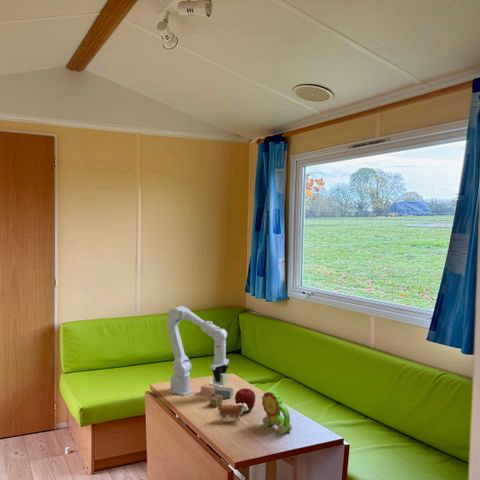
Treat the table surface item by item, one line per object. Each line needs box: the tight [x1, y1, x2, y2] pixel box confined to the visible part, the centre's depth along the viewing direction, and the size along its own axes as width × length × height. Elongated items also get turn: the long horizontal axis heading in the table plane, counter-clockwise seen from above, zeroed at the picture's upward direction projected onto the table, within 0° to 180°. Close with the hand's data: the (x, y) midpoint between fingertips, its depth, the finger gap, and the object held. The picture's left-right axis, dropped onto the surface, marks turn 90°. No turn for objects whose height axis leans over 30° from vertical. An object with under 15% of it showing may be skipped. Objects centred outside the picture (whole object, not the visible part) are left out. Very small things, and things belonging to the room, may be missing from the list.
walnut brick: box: [209, 394, 224, 409], centre depth 237 cm, size 6×3×4 cm, turn 152°
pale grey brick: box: [208, 380, 223, 393], centre depth 257 cm, size 6×3×4 cm, turn 60°
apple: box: [234, 387, 256, 413], centre depth 231 cm, size 10×10×10 cm
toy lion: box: [261, 390, 293, 435], centre depth 212 cm, size 16×5×15 cm, turn 37°
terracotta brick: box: [200, 384, 215, 397], centre depth 253 cm, size 6×3×4 cm, turn 61°
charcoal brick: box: [214, 386, 234, 400], centre depth 249 cm, size 8×5×4 cm, turn 76°
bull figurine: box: [217, 403, 249, 423], centre depth 219 cm, size 4×13×8 cm, turn 89°
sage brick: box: [212, 373, 228, 386], centre depth 247 cm, size 6×3×5 cm, turn 61°
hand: (219, 380), depth 247 cm, fingers closed on sage brick, 3 cm apart
